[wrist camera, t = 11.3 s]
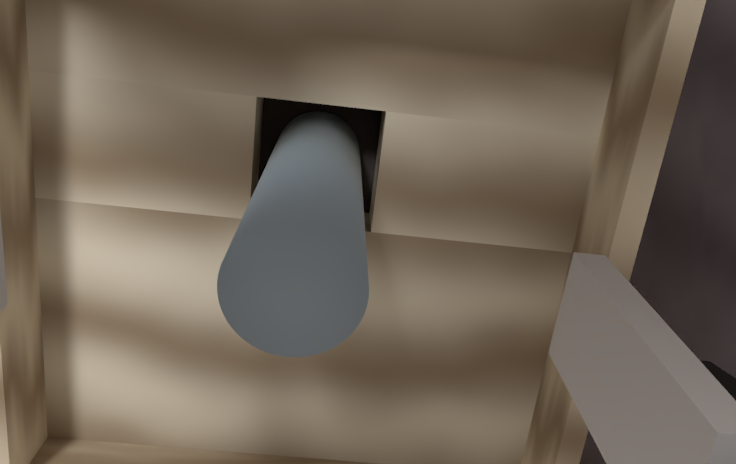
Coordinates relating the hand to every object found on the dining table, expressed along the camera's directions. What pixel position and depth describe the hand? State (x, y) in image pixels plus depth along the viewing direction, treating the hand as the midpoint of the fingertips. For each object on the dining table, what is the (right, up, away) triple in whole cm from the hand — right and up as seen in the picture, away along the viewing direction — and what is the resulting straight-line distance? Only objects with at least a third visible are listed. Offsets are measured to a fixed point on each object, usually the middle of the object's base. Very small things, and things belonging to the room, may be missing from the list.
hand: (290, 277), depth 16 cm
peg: (0, +5, +14) cm, 14 cm away
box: (-1, +2, +15) cm, 15 cm away
